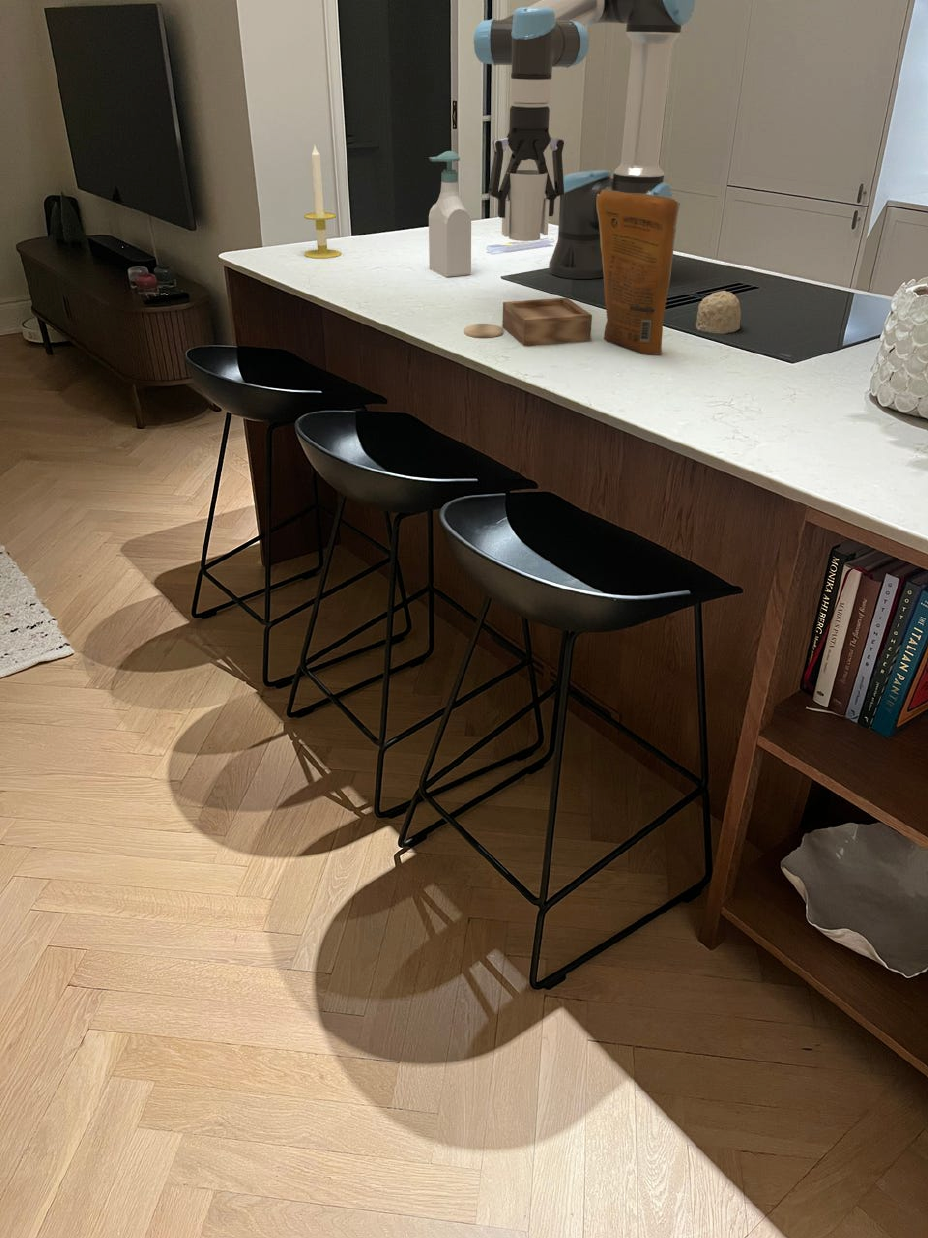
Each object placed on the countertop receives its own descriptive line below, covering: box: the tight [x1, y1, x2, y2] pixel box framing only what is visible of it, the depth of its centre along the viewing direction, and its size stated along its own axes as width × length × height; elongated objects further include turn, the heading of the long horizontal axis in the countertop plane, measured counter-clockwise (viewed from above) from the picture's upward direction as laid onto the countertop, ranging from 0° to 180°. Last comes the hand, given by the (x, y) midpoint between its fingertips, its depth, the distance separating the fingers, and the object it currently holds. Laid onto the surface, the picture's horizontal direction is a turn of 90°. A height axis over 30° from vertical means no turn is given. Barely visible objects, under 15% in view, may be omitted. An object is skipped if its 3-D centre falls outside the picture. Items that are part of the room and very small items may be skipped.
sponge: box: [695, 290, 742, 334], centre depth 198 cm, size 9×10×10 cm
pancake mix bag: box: [596, 190, 681, 355], centre depth 182 cm, size 7×19×28 cm, turn 34°
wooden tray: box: [501, 297, 593, 347], centre depth 195 cm, size 14×14×5 cm
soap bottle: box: [428, 150, 472, 278], centre depth 233 cm, size 11×8×27 cm
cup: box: [507, 169, 548, 242], centre depth 189 cm, size 8×8×12 cm
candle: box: [303, 142, 342, 260], centre depth 250 cm, size 10×10×27 cm
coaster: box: [463, 323, 504, 339], centre depth 196 cm, size 8×8×1 cm
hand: (524, 234), depth 192 cm, fingers closed on cup, 7 cm apart
